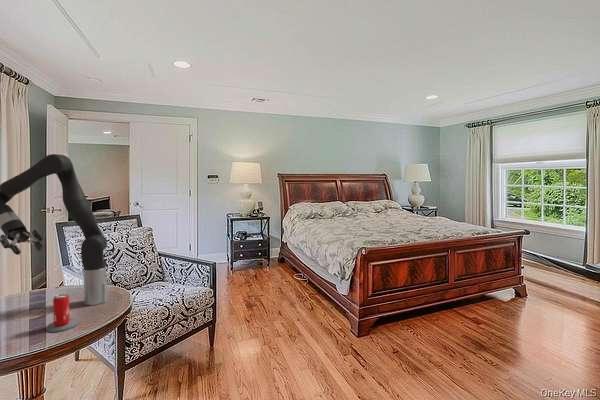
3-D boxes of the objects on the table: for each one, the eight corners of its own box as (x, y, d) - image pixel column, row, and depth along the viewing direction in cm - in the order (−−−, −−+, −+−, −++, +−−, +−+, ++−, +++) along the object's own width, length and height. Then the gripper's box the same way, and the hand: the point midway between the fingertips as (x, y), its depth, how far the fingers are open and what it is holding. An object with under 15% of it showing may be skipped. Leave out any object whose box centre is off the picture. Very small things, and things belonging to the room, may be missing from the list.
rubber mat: (82, 318, 136) (82, 316, 136) (75, 329, 126) (75, 327, 126) (51, 322, 132) (51, 320, 131) (41, 334, 121) (41, 332, 121)
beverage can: (58, 321, 130) (58, 294, 130) (72, 321, 131) (71, 293, 131) (50, 327, 125) (50, 298, 125) (64, 327, 126) (64, 298, 125)
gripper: (-5, 220, 132) (15, 249, 130) (32, 217, 146) (51, 243, 143) (-13, 232, 134) (7, 260, 131) (24, 227, 147) (43, 253, 145)
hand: (30, 251), depth 137 cm, fingers open, 8 cm apart
